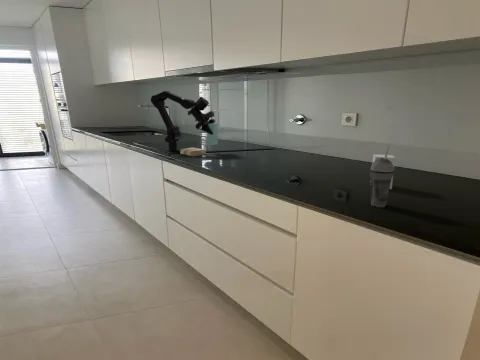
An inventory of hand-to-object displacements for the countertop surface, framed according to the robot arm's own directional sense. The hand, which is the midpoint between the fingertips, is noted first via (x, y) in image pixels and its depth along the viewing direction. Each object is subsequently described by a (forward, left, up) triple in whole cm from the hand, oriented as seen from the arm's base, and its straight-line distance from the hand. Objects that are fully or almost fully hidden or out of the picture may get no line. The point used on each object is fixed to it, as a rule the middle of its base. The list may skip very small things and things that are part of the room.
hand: (214, 133), depth 210 cm
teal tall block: (-1, -1, -7) cm, 7 cm away
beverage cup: (+121, -29, -13) cm, 125 cm away
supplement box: (+111, -5, -13) cm, 112 cm away
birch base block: (-8, -11, -13) cm, 19 cm away
